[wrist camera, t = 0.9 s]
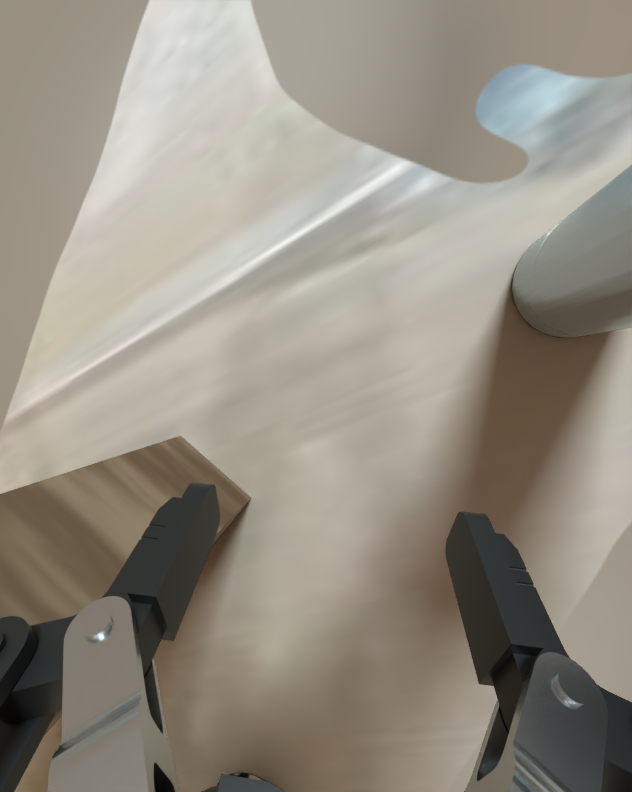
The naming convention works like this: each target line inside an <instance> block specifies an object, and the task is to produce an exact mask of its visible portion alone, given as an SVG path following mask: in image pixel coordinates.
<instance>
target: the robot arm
mask: <svg viewBox="0 0 632 792" xmlns="http://www.w3.org/2000/svg"><path fill="white" fill-rule="evenodd" d="M512 291H513V298H514V301H515V304H516V307H517V309H518V311H519V312H520V314H521V315H522V317H523V318H524V319H525V320H526V321H527V322H528V323H529V324H530V325H531V326H532V327H534V328H535V329H537V330H539V331H541V332H543V333H545V334H548V335H551V336H556V337H565V338H567V337H580V336H585V335H591V334H596V333H602V332H607V331H614V330H619V329H625V328H630V327H632V165H631V166H630V167H628V168H627V169H626V170H625V171H623V172H622V173H621V174H620V175H618V176H617V177H616V178H615V179H613V180H612V181H611V182H610V183H608V184H607V185H606V186H605V187H603V188H602V189H601V190H600V191H598V192H597V193H596V194H595V195H593V196H592V197H591V198H590V199H588V200H587V201H586V202H585V203H583V204H582V205H581V206H580V207H578V208H577V209H576V210H575V211H573V212H572V213H571V214H570V215H568V216H567V217H566V218H565V219H563V220H562V221H561V222H559V223H558V224H557V225H556V226H554V227H553V228H552V229H551V230H549V231H548V232H547V233H546V234H545V235H543V236H542V237H541V238H540V239H538V240H537V241H536V242H535V243H533V244H532V245H531V246H530V247H529V248H528V250H527V251H526V252H525V253H524V254H523V256H522V257H521V259H520V261H519V263H518V264H517V267H516V270H515V273H514V276H513V284H512ZM219 523H220V510H219V504H218V497H217V491H216V486H215V485H214V484H205V483H196V482H192V483H190V484H189V485H188V487H187V489H186V490H185V492H184V494H183V496H182V498H178V497H172V498H171V499H170V500H168V501H167V502H166V503H165V504H164V505H163V506H161V507H160V508H159V509H158V511H157V512H156V514H155V516H154V517H153V519H152V520H151V522H150V524H149V527H147V528H146V530H145V532H144V533H143V535H142V538H141V540H139V541H138V543H137V545H136V546H135V548H134V549H133V551H132V553H131V554H130V556H129V558H128V559H127V561H126V562H125V564H124V566H123V567H122V569H121V570H120V572H119V574H118V575H117V577H116V579H115V580H114V582H113V583H112V585H111V587H110V588H109V589H108V591H107V592H106V593H105V594H104V596H103V597H102V598H101V599H98V600H96V601H94V602H92V603H91V604H89V605H88V606H86V607H85V608H84V609H83V610H81V611H80V612H79V613H78V614H76V615H74V616H71V617H67V618H63V619H58V620H54V621H49V622H45V623H40V624H36V625H31V626H30V625H29V624H28V623H27V622H26V621H25V620H24V619H23V618H21V617H17V616H8V617H3V618H0V792H14V791H15V789H16V787H17V785H18V783H19V781H20V780H21V778H22V776H23V774H24V772H25V770H26V768H27V766H28V764H29V762H30V761H31V759H32V757H33V755H34V753H35V751H36V749H37V747H38V745H39V744H40V742H41V740H42V738H43V736H44V734H45V732H46V730H47V728H48V726H49V725H50V723H51V721H52V719H53V717H54V715H55V713H56V712H59V711H62V736H61V743H60V747H59V749H58V750H57V751H56V752H55V753H54V755H53V757H52V760H51V764H50V768H49V775H48V790H47V792H180V788H179V782H178V776H177V771H176V766H175V761H174V757H173V753H172V749H171V746H170V743H169V739H168V735H167V730H166V725H165V719H164V713H163V707H162V701H161V695H160V689H159V683H158V677H157V672H156V666H155V660H154V655H155V653H156V650H157V648H158V646H159V643H160V641H161V639H163V640H170V641H174V639H175V636H176V634H177V631H178V629H179V626H180V624H181V621H182V619H183V616H184V614H185V611H186V609H187V606H188V604H189V601H190V599H191V596H192V594H193V591H194V589H195V586H196V584H197V581H198V579H199V576H200V574H201V571H202V569H203V566H204V564H205V561H206V559H207V556H208V554H209V551H210V549H211V546H212V544H213V542H214V539H215V537H216V534H217V531H218V528H219ZM446 559H447V563H448V567H449V571H450V575H451V578H452V582H453V586H454V590H455V594H456V598H457V601H458V605H459V609H460V613H461V617H462V620H463V624H464V628H465V632H466V636H467V640H468V643H469V647H470V651H471V655H472V659H473V663H474V666H475V670H476V674H477V678H478V682H479V684H484V685H491V686H494V688H495V691H496V695H497V698H498V701H497V702H496V704H495V707H494V710H493V713H492V716H491V719H490V722H489V725H488V728H487V731H486V734H485V737H484V740H483V743H482V746H481V749H480V752H479V755H478V758H477V761H476V764H475V767H474V770H473V773H472V776H471V779H470V781H469V783H468V785H467V787H466V789H465V791H464V792H632V702H630V701H627V700H625V699H623V698H621V697H619V696H617V695H615V694H613V693H611V692H608V691H607V690H605V689H603V688H601V687H600V686H598V685H597V684H596V683H595V681H594V680H593V679H592V678H591V677H590V675H589V674H588V673H587V672H586V671H585V670H584V669H583V668H582V667H581V666H579V665H578V664H577V663H576V662H574V661H573V660H571V659H570V657H569V656H568V655H567V653H566V651H565V650H564V648H563V646H562V644H561V641H560V639H559V637H558V635H557V633H556V631H555V629H554V626H553V624H552V622H551V620H550V618H549V616H548V614H547V612H546V609H545V607H544V605H543V603H542V601H541V599H540V597H539V595H538V592H537V590H536V588H535V587H533V582H532V580H531V577H530V575H529V573H528V572H526V567H525V565H524V563H523V560H522V558H521V556H520V554H519V552H518V550H517V549H516V548H515V547H514V546H513V544H512V543H511V542H510V541H509V540H508V539H507V538H506V536H505V535H504V534H496V533H495V532H494V530H493V527H492V525H491V523H490V520H489V518H488V517H487V516H486V515H485V514H477V513H467V512H459V513H458V515H457V517H456V519H455V522H454V524H453V526H452V529H451V531H450V534H449V536H448V538H447V542H446ZM202 792H284V791H283V790H281V789H279V788H278V787H276V786H275V785H273V784H271V783H270V782H268V781H262V780H256V779H249V778H243V777H236V776H230V775H224V774H221V778H220V782H219V785H218V786H215V787H211V788H209V789H207V790H205V791H202Z"/></svg>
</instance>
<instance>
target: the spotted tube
mask: <svg viewBox="0 0 632 792" xmlns="http://www.w3.org/2000/svg"><path fill="white" fill-rule="evenodd" d="M230 776H236V777H243V778H249V779H256V780H262V779H260V778H258V777H256V776H253V775H250V774H245V773H235V774H231V775H230ZM262 781H263V780H262ZM218 785H219V783H218ZM218 785H217V786H218Z"/></svg>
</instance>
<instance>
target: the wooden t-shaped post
mask: <svg viewBox="0 0 632 792" xmlns="http://www.w3.org/2000/svg"><path fill="white" fill-rule="evenodd" d="M192 482H196V483H205V484H214V485H215V486H216V491H217V497H218V504H219V510H220V523H219V528H218V531H217V534H216V537H215V539H214V542H213V544H214V543H215V542H216V541H217V540H218V538H219V537H220V536H221V535H222V533H223V532H224V531H225V530H226V528H227V527H228V526H229V525H230V524H231V522H232V521H233V520H234V519H235V517H236V516H237V515H238V514H239V513H240V511H241V510H242V509H243V508H244V506H245V505H246V504H247V503H248V501H249V500H250V499H251V497H250V496H248V495H247V494H246V493H245V492H244V491H243V490H242V489H240V488H239V487H238V486H237V485H236V484H235V483H234V482H232V481H231V480H230V479H229V478H228V477H227V476H226V475H225V474H223V473H222V472H221V471H220V470H219V469H218V468H217V467H215V466H214V465H213V464H212V463H211V462H210V461H209V460H207V459H206V458H205V457H204V456H203V455H202V454H201V453H199V452H198V451H197V450H196V449H195V448H194V447H193V446H192V445H190V444H189V443H188V442H187V441H186V440H185V439H184V438H182V437H181V436H179V437H175V438H172V439H169V440H166V441H163V442H160V443H157V444H154V445H151V446H148V447H145V448H141V449H138V450H135V451H132V452H129V453H126V454H123V455H120V456H117V457H114V458H111V459H108V460H104V461H101V462H98V463H95V464H92V465H89V466H86V467H83V468H80V469H77V470H74V471H70V472H67V473H64V474H61V475H58V476H55V477H52V478H49V479H46V480H43V481H40V482H36V483H33V484H30V485H27V486H24V487H21V488H18V489H15V490H12V491H9V492H6V493H2V494H0V618H3V617H8V616H17V617H21V618H23V619H24V620H25V621H26V622H27V623H28V624H29V625H30V626H31V625H36V624H40V623H45V622H49V621H54V620H58V619H63V618H67V617H71V616H74V615H76V614H78V613H79V612H80V611H81V610H83V609H84V608H85V607H86V606H88V605H89V604H91V603H92V602H94V601H96V600H98V599H101V598H102V597H103V596H104V594H105V593H106V592H107V591H108V589H109V588H110V587H111V585H112V583H113V582H114V580H115V579H116V577H117V575H118V574H119V572H120V570H121V569H122V567H123V566H124V564H125V562H126V561H127V559H128V558H129V556H130V554H131V553H132V551H133V549H134V548H135V546H136V545H137V543H138V541H139V540H141V538H142V535H143V533H144V532H145V530H146V528H147V527H149V524H150V522H151V520H152V519H153V517H154V516H155V514H156V512H157V511H158V509H159V508H160V507H161V506H163V505H164V504H165V503H166V502H167V501H168V500H170V499H171V498H172V497H178V498H182V496H183V494H184V492H185V490H186V489H187V487H188V485H189V484H190V483H192ZM213 544H212V546H213ZM212 546H211V547H212ZM61 716H62V711H59V712H56V713H55V715H54V717H53V719H52V721H51V723H50V725H49V726H48V728H47V730H46V732H45V734H46V733H47V732H48V730H49V729H50V728H51V727H52V726H53V725H54V724H55V723H56V722H57V720H58V719H59V718H60V717H61ZM45 734H44V735H45Z"/></svg>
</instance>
